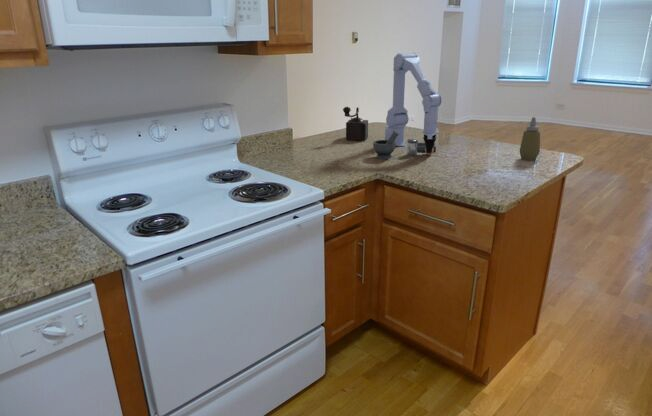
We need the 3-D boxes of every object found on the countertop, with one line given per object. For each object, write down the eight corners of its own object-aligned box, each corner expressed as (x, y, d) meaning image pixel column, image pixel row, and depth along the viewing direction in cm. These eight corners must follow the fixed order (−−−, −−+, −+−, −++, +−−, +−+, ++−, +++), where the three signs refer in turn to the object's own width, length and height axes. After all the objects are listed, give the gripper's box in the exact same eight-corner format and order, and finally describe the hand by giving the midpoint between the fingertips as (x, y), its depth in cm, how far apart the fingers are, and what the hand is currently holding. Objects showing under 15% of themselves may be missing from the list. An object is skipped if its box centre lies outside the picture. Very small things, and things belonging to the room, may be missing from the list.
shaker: (406, 155, 212) (407, 141, 209) (407, 153, 216) (407, 139, 213) (416, 156, 211) (417, 141, 208) (417, 153, 215) (418, 139, 212)
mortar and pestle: (371, 159, 207) (372, 132, 203) (374, 154, 216) (374, 128, 211) (397, 160, 205) (398, 133, 200) (398, 155, 213) (399, 129, 209)
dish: (411, 151, 220) (411, 146, 219) (412, 147, 227) (412, 142, 226) (435, 151, 217) (435, 146, 217) (435, 147, 225) (435, 143, 224)
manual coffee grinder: (348, 136, 254) (348, 103, 248) (368, 137, 252) (368, 103, 246) (342, 142, 240) (341, 107, 234) (363, 143, 238) (363, 107, 231)
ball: (424, 155, 211) (424, 147, 210) (424, 153, 215) (424, 145, 213) (433, 155, 210) (433, 147, 209) (433, 153, 214) (433, 145, 213)
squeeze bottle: (540, 162, 197) (546, 119, 190) (520, 161, 198) (525, 118, 192) (536, 157, 204) (542, 115, 198) (516, 156, 206) (521, 115, 199)
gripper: (440, 124, 200) (438, 155, 205) (439, 119, 213) (437, 148, 218) (423, 124, 201) (421, 155, 206) (423, 118, 215) (422, 147, 219)
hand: (429, 151), depth 212 cm, fingers closed on ball, 4 cm apart
